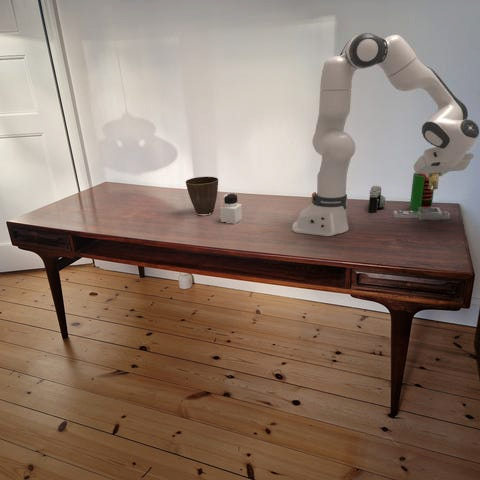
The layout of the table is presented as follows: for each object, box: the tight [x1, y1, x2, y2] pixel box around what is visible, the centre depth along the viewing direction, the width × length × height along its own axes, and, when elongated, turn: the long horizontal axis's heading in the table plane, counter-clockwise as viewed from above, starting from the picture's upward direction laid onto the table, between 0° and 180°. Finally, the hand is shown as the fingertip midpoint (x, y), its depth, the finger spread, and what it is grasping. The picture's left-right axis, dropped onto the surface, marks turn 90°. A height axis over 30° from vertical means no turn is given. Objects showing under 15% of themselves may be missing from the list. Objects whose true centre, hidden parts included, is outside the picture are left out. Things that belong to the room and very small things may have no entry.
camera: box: [368, 185, 386, 214], centre depth 190 cm, size 15×7×10 cm, turn 161°
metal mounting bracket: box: [393, 206, 451, 222], centre depth 177 cm, size 22×8×3 cm, turn 74°
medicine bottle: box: [219, 193, 243, 224], centre depth 184 cm, size 7×7×12 cm
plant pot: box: [185, 176, 219, 215], centre depth 196 cm, size 15×15×16 cm
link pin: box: [428, 172, 440, 191], centre depth 171 cm, size 4×4×9 cm
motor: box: [409, 172, 435, 212], centre depth 185 cm, size 10×9×20 cm
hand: (433, 175), depth 171 cm, fingers closed on link pin, 3 cm apart
